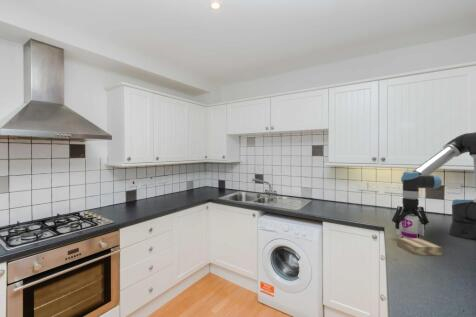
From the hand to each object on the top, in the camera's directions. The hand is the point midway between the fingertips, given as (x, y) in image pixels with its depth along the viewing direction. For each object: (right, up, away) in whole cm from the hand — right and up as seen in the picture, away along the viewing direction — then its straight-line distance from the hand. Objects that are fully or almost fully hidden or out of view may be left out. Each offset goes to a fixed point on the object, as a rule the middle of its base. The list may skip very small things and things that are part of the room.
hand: (410, 235), depth 134 cm
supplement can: (0, -4, 0) cm, 4 cm away
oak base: (-6, -3, -14) cm, 16 cm away
